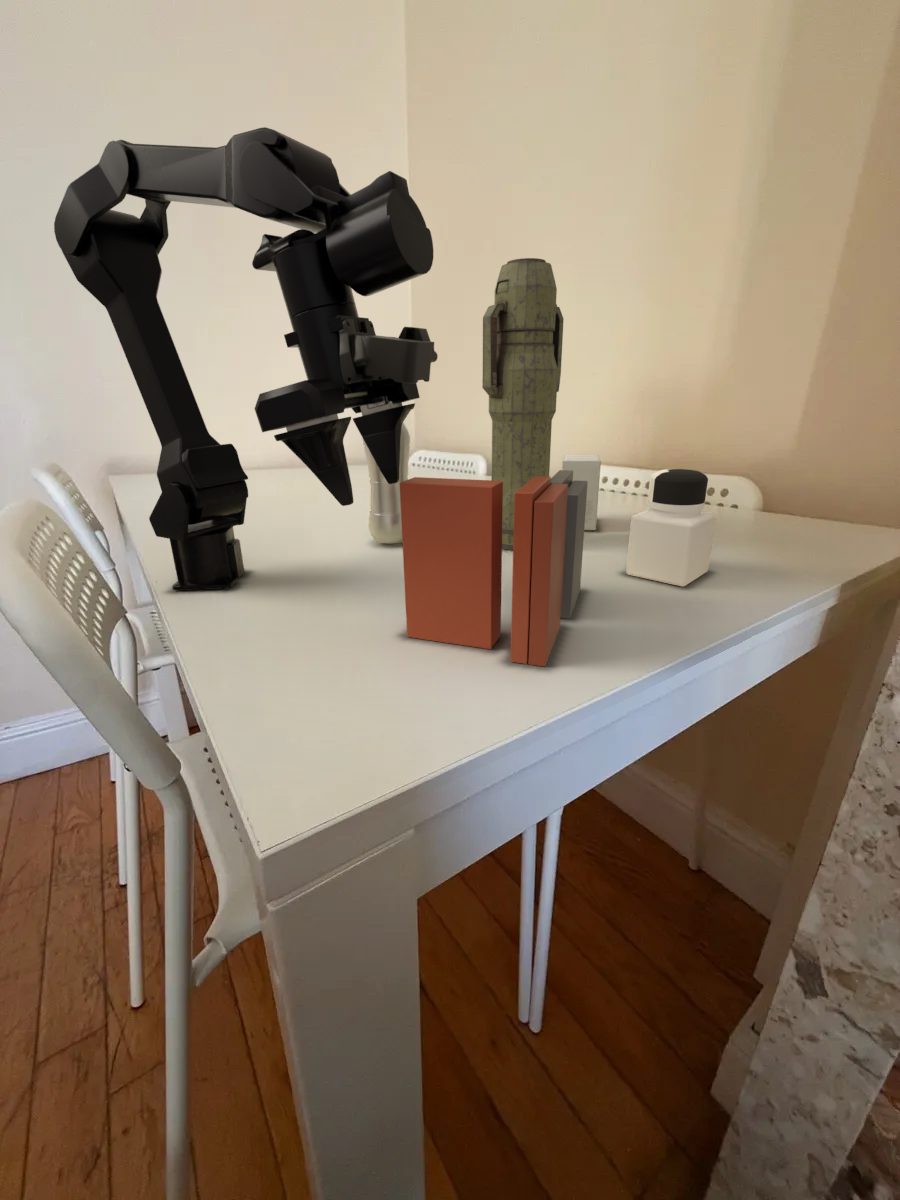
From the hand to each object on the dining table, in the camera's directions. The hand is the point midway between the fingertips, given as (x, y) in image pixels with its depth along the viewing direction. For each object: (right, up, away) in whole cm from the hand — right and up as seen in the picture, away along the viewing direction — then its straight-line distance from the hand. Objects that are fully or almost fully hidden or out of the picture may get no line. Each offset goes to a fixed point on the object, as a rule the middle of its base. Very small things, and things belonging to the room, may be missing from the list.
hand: (372, 493), depth 53 cm
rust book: (+8, -13, -2) cm, 15 cm away
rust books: (+15, -14, -3) cm, 21 cm away
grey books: (+19, -10, +6) cm, 22 cm away
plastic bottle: (-1, -2, +29) cm, 29 cm away
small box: (+27, +2, +37) cm, 46 cm away
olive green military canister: (+17, -2, +28) cm, 33 cm away
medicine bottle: (+33, -7, +14) cm, 36 cm away
